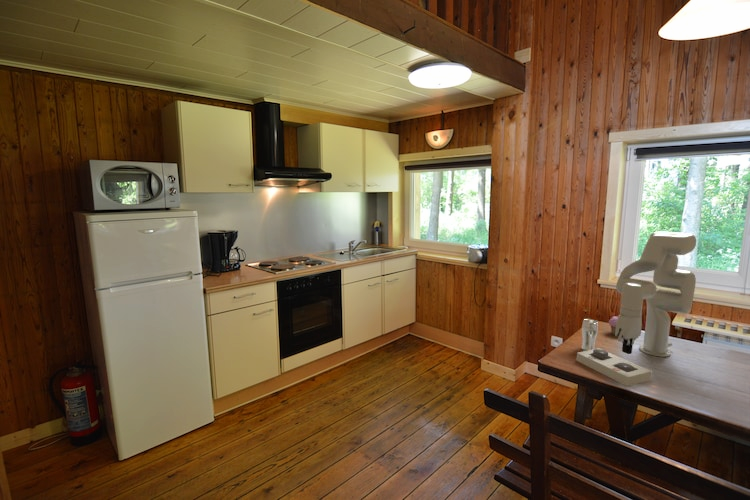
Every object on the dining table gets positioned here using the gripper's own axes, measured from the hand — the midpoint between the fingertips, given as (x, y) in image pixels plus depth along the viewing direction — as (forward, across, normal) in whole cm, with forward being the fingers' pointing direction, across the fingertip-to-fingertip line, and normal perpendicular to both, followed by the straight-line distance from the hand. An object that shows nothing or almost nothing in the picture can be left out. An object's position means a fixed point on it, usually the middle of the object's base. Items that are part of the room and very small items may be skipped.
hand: (626, 352), depth 162 cm
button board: (+11, 0, -6) cm, 12 cm away
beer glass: (+11, -9, -26) cm, 30 cm away
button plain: (+8, 0, -12) cm, 14 cm away
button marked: (+9, 0, 0) cm, 9 cm away
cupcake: (+11, -41, -35) cm, 55 cm away
